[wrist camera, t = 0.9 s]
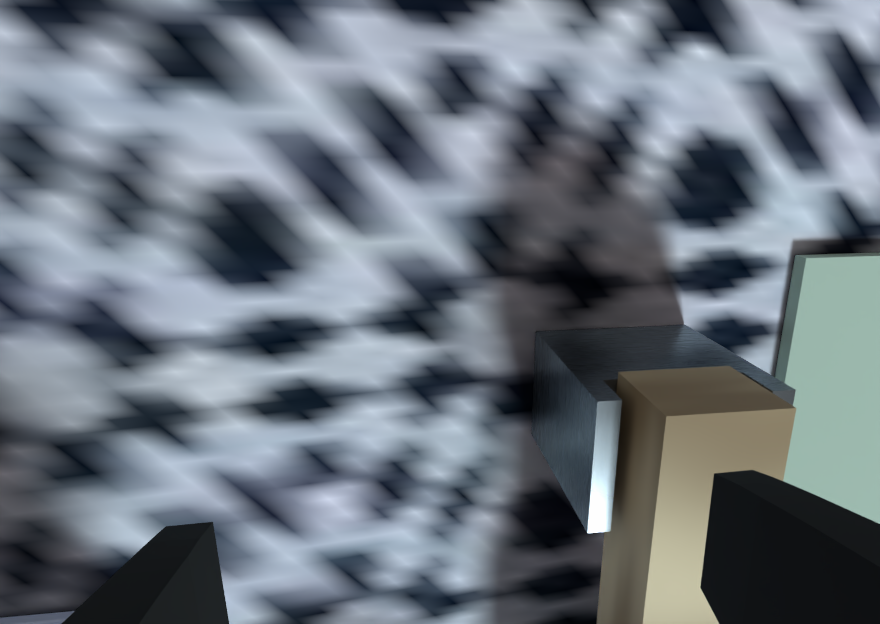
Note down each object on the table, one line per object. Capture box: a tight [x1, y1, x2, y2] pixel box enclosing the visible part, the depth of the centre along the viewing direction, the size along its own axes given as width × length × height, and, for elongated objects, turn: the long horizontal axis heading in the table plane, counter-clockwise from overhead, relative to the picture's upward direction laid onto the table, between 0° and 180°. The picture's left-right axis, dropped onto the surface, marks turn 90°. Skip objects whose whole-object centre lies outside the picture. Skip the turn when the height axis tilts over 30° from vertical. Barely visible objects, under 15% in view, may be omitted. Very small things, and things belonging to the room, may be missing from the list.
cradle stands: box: [531, 325, 796, 533], centre depth 19 cm, size 16×5×5 cm, turn 0°
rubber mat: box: [775, 253, 880, 524], centre depth 22 cm, size 20×8×1 cm, turn 0°
